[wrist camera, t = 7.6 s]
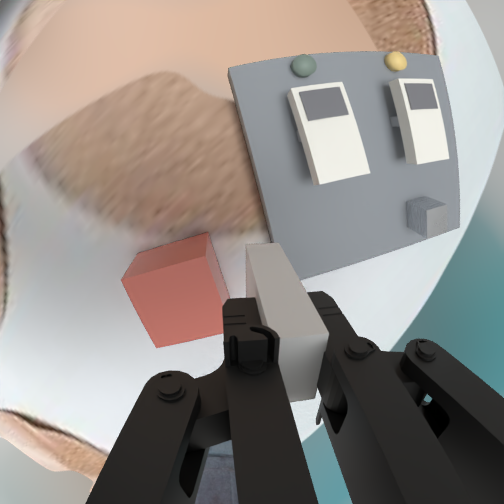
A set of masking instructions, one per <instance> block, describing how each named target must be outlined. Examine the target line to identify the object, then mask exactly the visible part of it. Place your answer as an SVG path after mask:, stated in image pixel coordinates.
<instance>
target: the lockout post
mask: <svg viewBox="0 0 504 504" xmlns="http://www.w3.org/2000/svg"><path fill="white" fill-rule="evenodd" d="M406 216H407V228H409V229H411V230H412V231H414V232H416V233H418V234H419V235H421V236H423V237H424V238H426V239H429V238H432V237H434V236H437V235H440V234H443V233H446V232H447V204H445V203H443V202H440V201H437V200H435V199H432V198H430V197H427V196H424V197H420V198H416V199H413V200H409V201H406Z"/></svg>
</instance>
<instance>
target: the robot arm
mask: <svg viewBox="0 0 504 504" xmlns="http://www.w3.org/2000/svg"><path fill="white" fill-rule="evenodd" d="M222 316H223V334H224V342H223V344H224V361H223V363H222V365H221V366H220V367H219V368H218V369H217V370H215V371H214V372H212V373H210V374H208V375H205V376H202V377H199V378H195V379H194V378H193V377H191V376H190V375H189V374H187V373H184V372H181V371H165V372H161V373H158V374H157V375H155V376H153V377H151V378H150V379H149V381H148V382H147V383H146V384H145V386H144V388H143V390H142V392H141V394H140V395H139V397H138V399H137V401H136V403H135V405H134V407H133V409H132V411H131V413H130V415H129V417H128V418H127V420H126V422H125V424H124V426H123V428H122V430H121V432H120V434H119V436H118V438H117V440H116V442H115V444H114V446H113V448H112V450H111V452H110V454H109V456H108V458H107V460H106V462H105V464H104V466H103V468H102V470H101V472H100V474H99V476H98V478H97V480H96V483H95V485H94V487H93V489H92V491H91V493H90V495H89V497H88V499H87V502H86V504H195V501H196V497H197V493H198V490H199V486H200V482H201V479H202V475H203V471H204V467H205V464H206V460H207V456H208V453H209V449H210V447H211V446H214V445H217V444H220V443H223V442H226V441H229V440H232V450H233V460H234V469H235V478H236V487H237V495H238V503H239V504H318V500H317V497H316V494H315V490H314V487H313V483H312V480H311V476H310V473H309V469H308V466H307V462H306V459H305V455H304V452H303V448H302V445H301V441H300V438H299V434H298V431H297V427H296V424H295V420H294V417H293V413H292V410H291V406H290V402H296V401H303V400H309V399H315V396H316V392H317V388H318V390H319V393H320V395H321V398H322V399H321V403H320V406H319V410H318V413H317V417H316V425H319V424H320V421H321V418H322V419H323V421H324V424H325V427H326V429H327V432H328V435H329V438H330V441H331V444H332V446H333V449H334V452H335V455H336V457H337V461H338V463H339V466H340V468H341V472H342V475H343V477H344V480H345V483H346V486H347V489H348V492H349V495H350V498H351V500H352V503H353V504H504V398H503V397H502V396H501V395H499V394H498V393H497V392H496V391H495V390H494V389H492V388H491V387H490V386H489V385H488V384H486V383H485V382H484V381H483V380H482V379H480V378H479V377H478V376H477V375H475V374H474V373H473V372H472V371H471V370H469V369H468V368H467V367H465V366H464V365H463V364H462V363H461V362H459V361H458V360H457V359H456V358H454V357H453V356H452V355H451V354H449V353H448V352H447V351H446V350H444V349H443V348H442V347H440V346H439V345H438V344H436V343H434V342H433V341H430V340H427V339H415V340H411V341H410V342H409V343H408V344H407V345H406V348H405V350H404V352H387V351H381V350H380V349H379V347H378V346H377V345H376V344H375V343H374V342H373V341H371V340H369V339H367V338H363V337H359V336H357V334H356V333H355V331H354V329H353V328H352V326H351V325H350V323H349V322H348V320H347V319H346V317H345V316H344V314H342V311H341V310H340V308H339V307H338V305H337V304H336V302H335V301H334V299H333V298H332V297H331V296H329V295H328V294H326V293H325V292H323V291H318V292H306V290H305V288H304V287H303V285H302V283H301V281H300V279H299V278H298V276H297V274H296V272H295V270H294V269H293V267H292V265H291V263H290V262H289V260H288V258H287V256H286V255H285V253H284V251H283V249H282V248H281V246H280V244H279V243H263V244H246V298H232V299H227V300H226V302H225V303H224V305H223V306H222ZM426 394H428V395H429V396H430V397H431V398H432V400H431V402H426V401H424V398H425V396H426Z"/></svg>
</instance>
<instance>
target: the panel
mask: <svg viewBox="0 0 504 504" xmlns="http://www.w3.org/2000/svg"><path fill="white" fill-rule="evenodd" d="M228 79H229V82H230V86H231V90H232V93H233V97H234V100H235V104H236V108H237V111H238V115H239V119H240V122H241V126H242V130H243V133H244V137H245V141H246V145H247V148H248V152H249V156H250V160H251V163H252V167H253V171H254V175H255V179H256V183H257V187H258V191H259V194H260V198H261V202H262V206H263V210H264V214H265V218H266V222H267V226H268V230H269V234H270V238H271V242H272V243H279V244H280V246H281V248H282V249H283V251H284V253H285V255H286V256H287V258H288V260H289V262H290V263H291V265H292V267H293V269H294V270H295V272H296V274H297V276H298V278H299V279H300V280H303V279H306V278H310V277H313V276H316V275H320V274H323V273H326V272H329V271H333V270H336V269H339V268H342V267H346V266H349V265H352V264H355V263H358V262H361V261H364V260H367V259H370V258H374V257H377V256H380V255H383V254H386V253H389V252H392V251H395V250H398V249H400V248H403V247H406V246H409V245H412V244H415V243H418V242H421V241H424V240H426V238H424V237H423V236H421V235H419V234H418V233H416V232H414V231H412V230H411V229H409V228H407V216H406V201H409V200H413V199H416V198H420V197H424V196H427V197H430V198H432V199H435V200H437V201H440V202H443V203H445V204H447V232H449V231H451V230H454V229H457V228H459V227H460V189H459V170H458V157H457V147H456V139H455V131H454V124H453V118H452V112H451V106H450V101H449V96H448V92H447V87H446V83H445V79H444V74H443V71H442V67H441V63H440V60H439V56H435V55H427V54H416V53H403V52H376V51H375V52H374V51H373V52H371V51H365V52H364V51H360V52H333V53H319V54H308V55H306V54H302V55H299V56H291V57H284V58H277V59H270V60H264V61H259V62H254V63H249V64H243V65H239V66H235V67H230V68H228ZM396 79H433V82H434V85H435V89H436V93H437V97H438V101H439V105H440V109H441V114H442V118H443V123H444V129H445V134H446V140H447V146H448V152H449V159H445V160H439V161H434V162H428V163H423V164H408V163H406V157H405V151H404V145H403V140H402V135H401V130H400V126H399V121H398V117H397V112H396V108H395V104H394V100H393V97H392V93H391V89H390V86H389V82H390V81H393V80H396ZM334 82H342V83H343V85H344V88H345V91H346V94H347V96H348V99H349V102H350V105H351V108H352V111H353V114H354V117H355V120H356V123H357V127H358V130H359V133H360V137H361V140H362V143H363V147H364V151H365V154H366V158H367V162H368V166H369V169H370V173H369V174H364V175H360V176H355V177H351V178H346V179H342V180H337V181H333V182H329V183H325V184H320V185H315V186H314V185H313V181H312V177H311V173H310V170H309V166H308V163H307V159H306V155H305V152H304V148H303V145H302V142H301V138H300V135H299V132H298V128H297V125H296V122H295V119H294V115H293V112H292V109H291V106H290V103H289V100H288V97H287V95H288V93H289V91H290V89H291V88H295V87H302V86H309V85H316V84H325V83H334ZM437 236H438V235H437ZM434 237H435V236H434Z"/></svg>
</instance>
